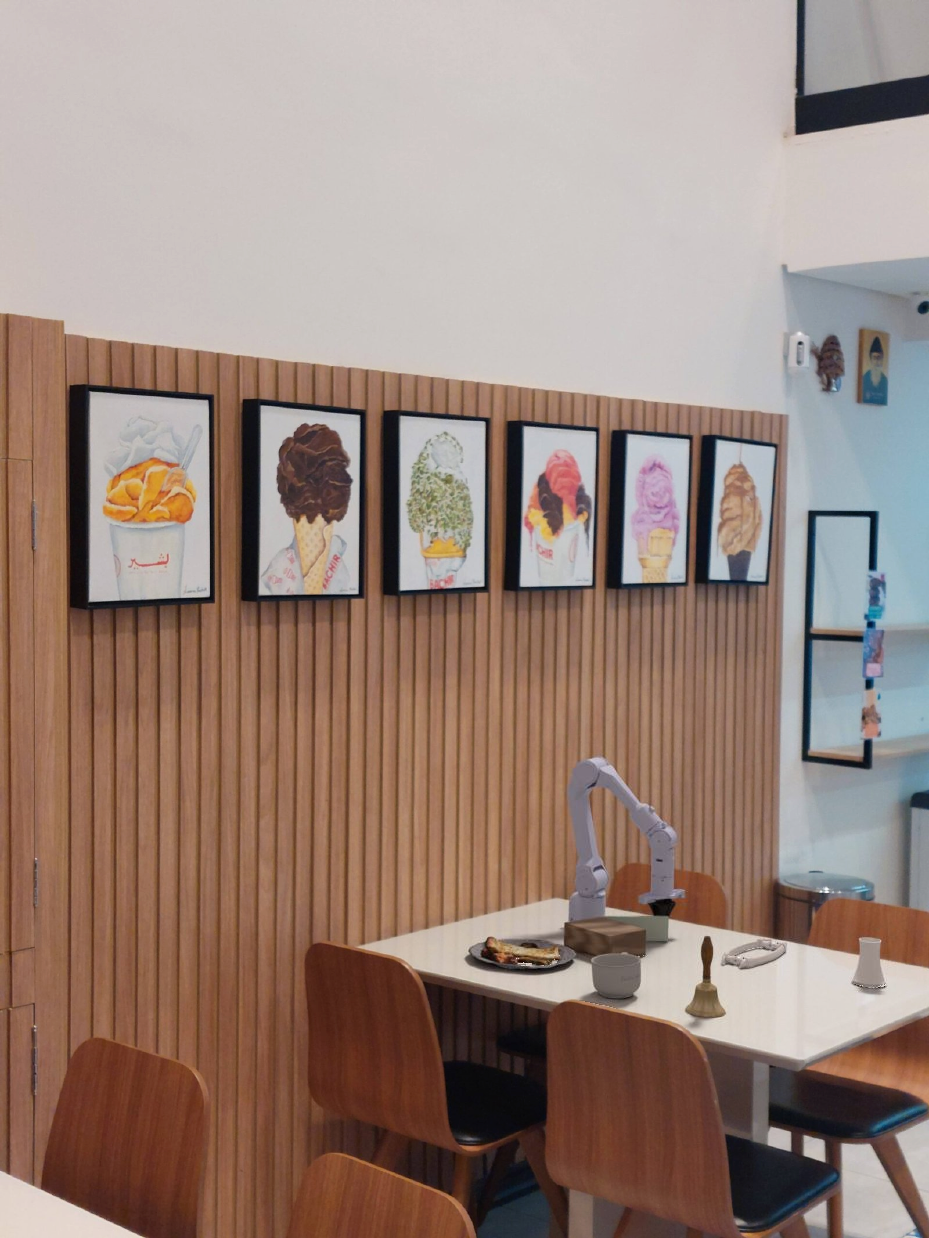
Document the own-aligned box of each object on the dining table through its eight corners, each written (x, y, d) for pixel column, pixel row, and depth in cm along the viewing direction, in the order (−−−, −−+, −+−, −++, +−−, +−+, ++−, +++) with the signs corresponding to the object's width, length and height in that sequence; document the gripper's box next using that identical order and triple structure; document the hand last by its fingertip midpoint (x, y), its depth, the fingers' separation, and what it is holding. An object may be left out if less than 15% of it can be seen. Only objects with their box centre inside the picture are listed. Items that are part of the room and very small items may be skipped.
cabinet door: (601, 940, 356) (601, 916, 356) (599, 937, 359) (600, 914, 358) (668, 940, 357) (668, 917, 357) (666, 938, 359) (666, 914, 359)
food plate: (456, 966, 331) (456, 950, 331) (484, 943, 353) (485, 929, 353) (561, 980, 323) (562, 964, 323) (583, 956, 346) (584, 941, 346)
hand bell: (730, 1017, 296) (732, 941, 296) (690, 1017, 295) (692, 941, 295) (720, 1005, 304) (721, 931, 304) (681, 1005, 304) (683, 931, 303)
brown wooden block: (563, 948, 349) (564, 922, 349) (600, 941, 356) (600, 916, 356) (608, 963, 336) (609, 936, 336) (645, 955, 344) (646, 929, 343)
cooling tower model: (876, 978, 328) (878, 935, 328) (892, 988, 321) (893, 943, 320) (845, 979, 327) (847, 936, 326) (860, 988, 319) (861, 944, 319)
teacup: (627, 1005, 303) (628, 967, 303) (581, 996, 309) (582, 959, 309) (654, 989, 315) (655, 953, 315) (610, 981, 321) (611, 946, 321)
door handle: (796, 952, 352) (750, 972, 332) (759, 945, 358) (712, 964, 338) (796, 941, 352) (750, 961, 332) (759, 934, 358) (712, 953, 338)
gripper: (653, 881, 353) (651, 936, 353) (694, 875, 362) (692, 928, 362) (633, 876, 358) (631, 930, 359) (673, 870, 367) (672, 922, 368)
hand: (661, 929), depth 361 cm, fingers closed
